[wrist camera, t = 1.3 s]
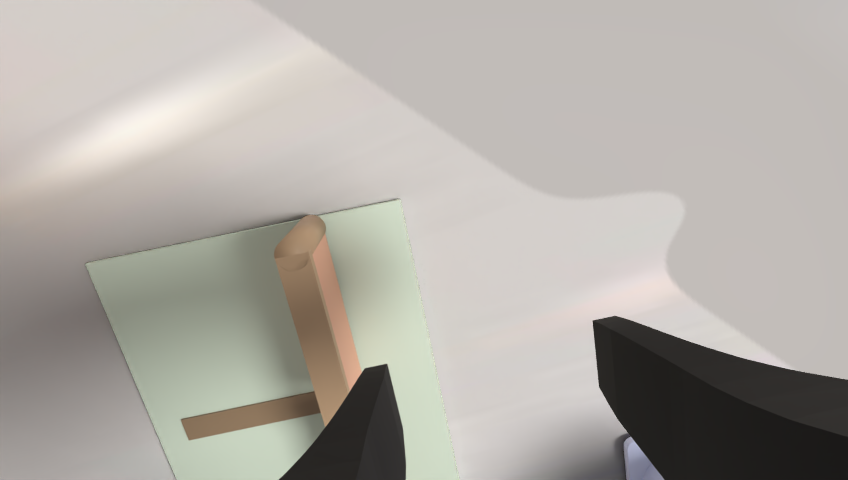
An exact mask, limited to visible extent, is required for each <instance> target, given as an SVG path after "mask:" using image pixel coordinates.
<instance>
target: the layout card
mask: <svg viewBox="0 0 848 480" xmlns="http://www.w3.org/2000/svg"><path fill="white" fill-rule="evenodd" d="M317 216H318V217H320V218H321V219H322V220H323V221H324V223H325V225H326V232H325V234H326V238H327V242H328V246H329V250H330V253H331V257H332V261H333V265H334V269H335V272H336V276H337V280H338V284H339V288H340V291H341V295H342V299H343V303H344V307H345V310H346V314H347V318H348V322H349V326H350V329H351V333H352V337H353V341H354V345H355V348H356V352H357V356H358V360H359V364H360V367H361V371H363V370H364V369H365V368H368V367H373V366H378V365H383V364H388V369H389V373H390V377H391V381H392V385H393V389H394V393H395V397H396V401H397V406H398V410H399V414H400V418H401V422H402V426H403V433H404V444H405V456H406V480H459V475H458V471H457V466H456V461H455V456H454V452H453V447H452V442H451V437H450V433H449V428H448V423H447V418H446V414H445V409H444V404H443V399H442V395H441V390H440V385H439V380H438V376H437V371H436V366H435V361H434V357H433V352H432V347H431V342H430V338H429V333H428V328H427V323H426V319H425V314H424V309H423V304H422V300H421V295H420V290H419V285H418V281H417V276H416V271H415V266H414V262H413V257H412V252H411V247H410V243H409V238H408V233H407V229H406V224H405V219H404V214H403V210H402V205H401V200H400V199H396V200H391V201H386V202H381V203H376V204H372V205H367V206H362V207H357V208H352V209H347V210H342V211H337V212H332V213H327V214H322V215H317ZM300 220H301V219H298V220H293V221H288V222H283V223H278V224H273V225H268V226H263V227H259V228H254V229H249V230H244V231H239V232H234V233H229V234H224V235H219V236H214V237H209V238H205V239H200V240H195V241H190V242H185V243H180V244H175V245H170V246H165V247H160V248H155V249H150V250H146V251H141V252H136V253H131V254H126V255H121V256H116V257H111V258H106V259H101V260H96V261H92V262H88V263H86V264H85V265H86V268H87V270H88V272H89V275H90V277H91V279H92V282H93V284H94V286H95V289H96V291H97V294H98V296H99V298H100V301H101V303H102V305H103V308H104V310H105V312H106V315H107V317H108V319H109V322H110V324H111V327H112V329H113V331H114V334H115V336H116V338H117V341H118V343H119V345H120V348H121V350H122V353H123V355H124V357H125V360H126V362H127V364H128V367H129V369H130V371H131V374H132V376H133V378H134V381H135V383H136V386H137V388H138V390H139V393H140V395H141V397H142V400H143V402H144V404H145V407H146V409H147V411H148V414H149V416H150V419H151V421H152V423H153V426H154V428H155V430H156V433H157V435H158V437H159V440H160V442H161V444H162V447H163V449H164V452H165V454H166V456H167V459H168V461H169V463H170V466H171V468H172V470H173V473H174V475H175V477H176V480H279V479H280V478H281V477H282V476H283V475H284V474H285V473H286V472H287V471H288V470H289V469H290V468H291V467H292V466H293V465H294V464H295V463H296V462H297V461H298V459H299V458H300V457H301V456H302V455H303V454H304V453H305V452H306V451H307V449H308V448H309V447H310V446H311V445H312V444H313V442H314V441H315V440H316V439H317V437H318V436H319V435H320V433H321V432H322V431H323V430H324V428H325V425H324V421H323V418H322V415H321V411H320V408H319V405H318V401H317V398H316V395H315V391H314V388H313V385H312V381H311V378H310V375H309V371H308V368H307V365H306V361H305V358H304V355H303V351H302V348H301V345H300V341H299V338H298V335H297V331H296V328H295V325H294V321H293V318H292V315H291V311H290V308H289V305H288V301H287V298H286V295H285V291H284V288H283V285H282V281H281V278H280V275H279V271H278V268H277V265H276V261H275V258H274V251H275V248H276V246H277V245H278V244H279V242H280V241H281V240H282V239H283V238H284V237H285V236H286V235H287V234H288V233H289V232H290V231H291V230H292V228H293V227H294V226H295V225H296V224H297V223H298V222H299V221H300Z"/></svg>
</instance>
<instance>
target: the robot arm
mask: <svg viewBox="0 0 848 480" xmlns="http://www.w3.org/2000/svg"><path fill="white" fill-rule="evenodd" d="M593 329H594V339H595V349H596V359H597V370H598V380H599V387H600V389H601V391H602V393H603V395H604V396H605V398H606V400H607V402H608V403H609V405H610V407H611V409H612V410H613V412H614V414H615V415H616V417H617V419H618V420H619V421H620V423H621V424H622V425H623V427H624V428H625V429H626V431H627V432H628V433H629V435H630V436H631V437H629V438H627V439H626V440H625V442H624V457H625V468H626V480H848V380H845V379H839V378H833V377H828V376H822V375H816V374H810V373H805V372H800V371H795V370H790V369H785V368H781V367H776V366H772V365H768V364H764V363H760V362H755V361H751V360H747V359H744V358H740V357H736V356H733V355H730V354H726V353H723V352H720V351H717V350H713V349H710V348H707V347H704V346H701V345H698V344H695V343H692V342H689V341H686V340H683V339H680V338H677V337H675V336H672V335H669V334H666V333H664V332H661V331H658V330H655V329H653V328H650V327H647V326H645V325H642V324H639V323H636V322H633V321H631V320H628V319H624V318H621V317H617V316H613V317H608V318H603V319H598V320H593ZM279 480H406V456H405V444H404V433H403V426H402V422H401V418H400V414H399V410H398V406H397V401H396V397H395V393H394V389H393V385H392V381H391V377H390V373H389V369H388V364H383V365H378V366H373V367H368V368H365V369H364V370H363V371H362V373H361V374H360V376H359V377H358V379H357V381H356V382H355V384H354V386H353V387H352V389H351V390H350V392H349V393H348V395H347V397H346V398H345V400H344V401H343V403H342V404H341V406H340V407H339V409H338V410H337V412H336V413H335V415H334V416H333V417H332V419H331V420H330V422H329V423H328V424H327V426H326V427H325V428H324V430H323V431H322V432H321V433H320V435H319V436H318V437H317V439H316V440H315V441H314V442H313V444H312V445H311V446H310V447H309V448H308V449H307V451H306V452H305V453H304V454H303V455H302V456H301V457H300V458H299V459H298V461H297V462H296V463H295V464H294V465H293V466H292V467H291V468H290V469H289V470H288V471H287V472H286V473H285V474H284V475H283V476H282V477H281V478H280V479H279Z"/></svg>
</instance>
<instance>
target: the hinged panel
mask: <svg viewBox="0 0 848 480" xmlns="http://www.w3.org/2000/svg"><path fill="white" fill-rule="evenodd" d="M325 232H326V225H325V223H324V221H323V220H322V219H321V218H320V217H318V216H316V215H307V216H305V217H303V218H302V219H301V220H300V221H299V222H298V223H297V224H296V225H295V226H294V227H293V228H292V230H291V231H290V232H289V233H288V234H287V235H286V236H285V237H284V238H283V239H282V240H281V241H280V242H279V244H278V245H277V246H276V248H275V251H274V258H275V261H276V265H277V268H278V271H279V275H280V278H281V281H282V285H283V288H284V291H285V295H286V298H287V301H288V305H289V308H290V311H291V315H292V318H293V321H294V325H295V328H296V331H297V335H298V338H299V341H300V345H301V348H302V351H303V355H304V358H305V361H306V365H307V368H308V371H309V375H310V378H311V381H312V385H313V388H314V391H315V395H316V398H317V401H318V405H319V408H320V411H321V415H322V418H323V421H324V425H325V427H326V426H327V424H328V423H329V422H330V420H331V419H332V417H333V416H334V415H335V413H336V412H337V410H338V409H339V407H340V406H341V404H342V403H343V401H344V400H345V398H346V397H347V395H348V393H349V392H350V390H351V389H352V387H353V386H354V384H355V382H356V381H357V379H358V377H359V376H360V374H361V373H362V371H361V367H360V364H359V360H358V356H357V352H356V348H355V345H354V341H353V337H352V333H351V329H350V326H349V322H348V318H347V314H346V310H345V307H344V303H343V299H342V295H341V291H340V288H339V284H338V280H337V276H336V272H335V269H334V265H333V261H332V257H331V253H330V250H329V246H328V242H327V238H326V234H325Z"/></svg>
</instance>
